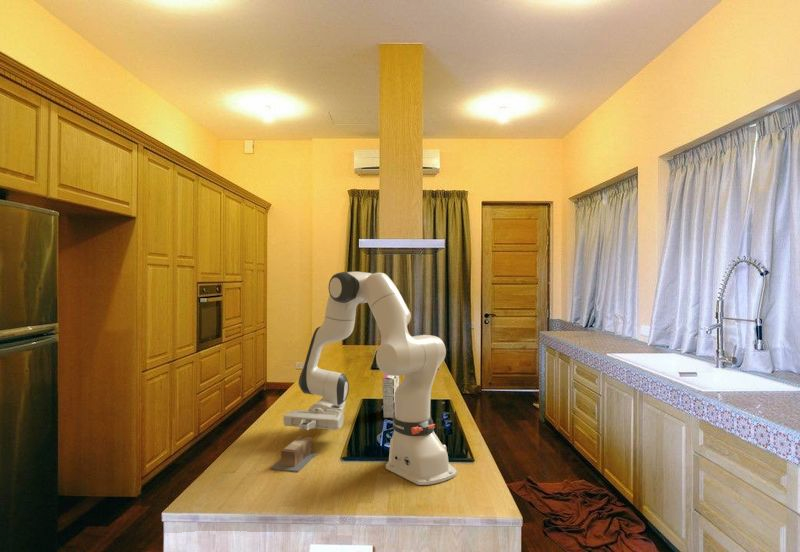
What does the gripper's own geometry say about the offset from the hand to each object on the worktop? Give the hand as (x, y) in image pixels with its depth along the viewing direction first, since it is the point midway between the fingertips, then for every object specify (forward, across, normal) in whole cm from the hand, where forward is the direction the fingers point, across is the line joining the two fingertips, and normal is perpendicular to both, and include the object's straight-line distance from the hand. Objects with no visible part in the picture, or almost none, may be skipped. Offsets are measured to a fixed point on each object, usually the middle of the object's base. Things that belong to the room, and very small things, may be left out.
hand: (303, 427), depth 145 cm
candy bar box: (-46, +18, +9) cm, 50 cm away
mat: (+6, 0, +8) cm, 11 cm away
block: (-2, 0, +6) cm, 6 cm away
